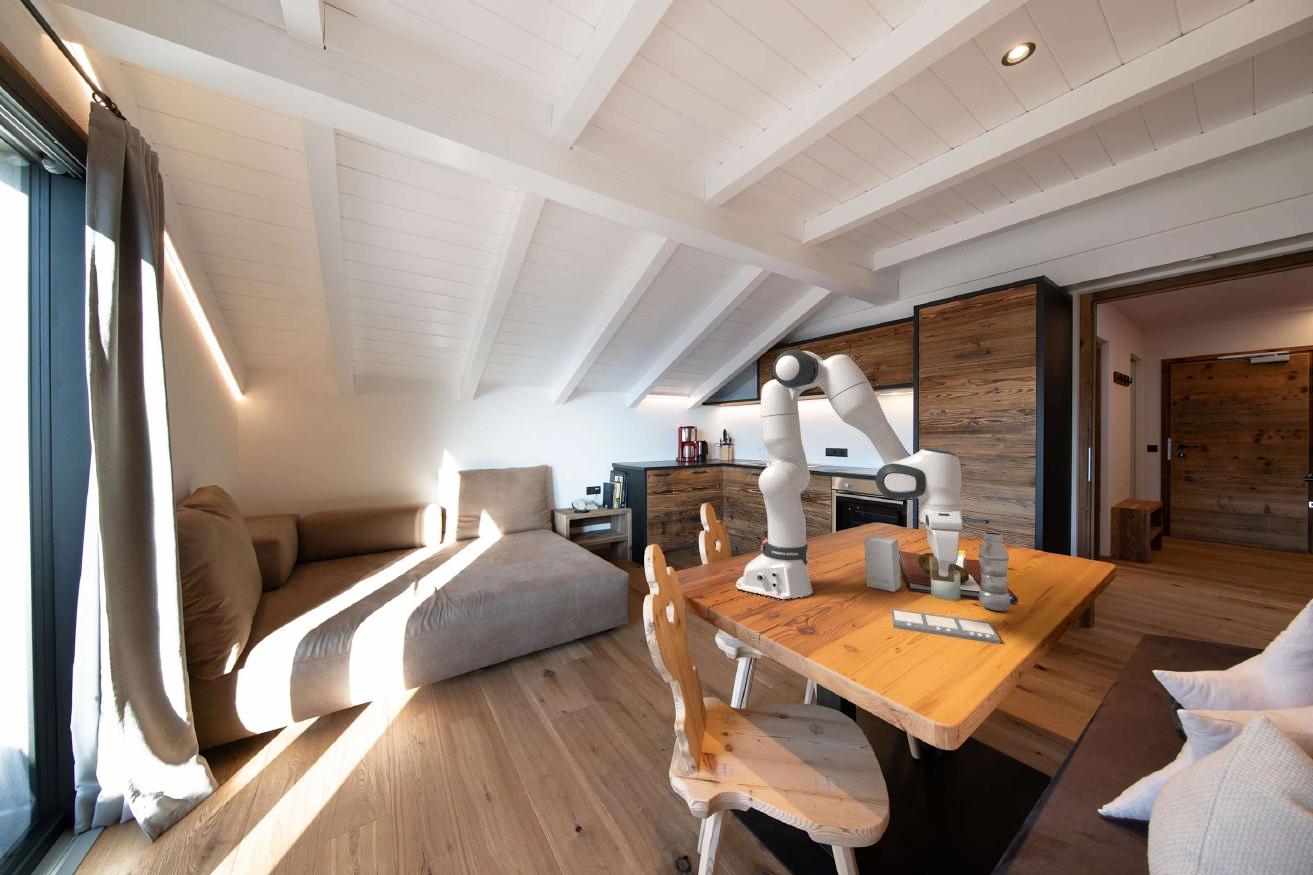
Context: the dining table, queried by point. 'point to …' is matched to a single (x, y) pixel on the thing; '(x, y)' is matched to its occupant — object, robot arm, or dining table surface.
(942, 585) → the sage mug
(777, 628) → the dining table surface
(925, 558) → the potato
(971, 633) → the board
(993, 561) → the plastic bottle
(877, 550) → the skincare box
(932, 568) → the marker cube
